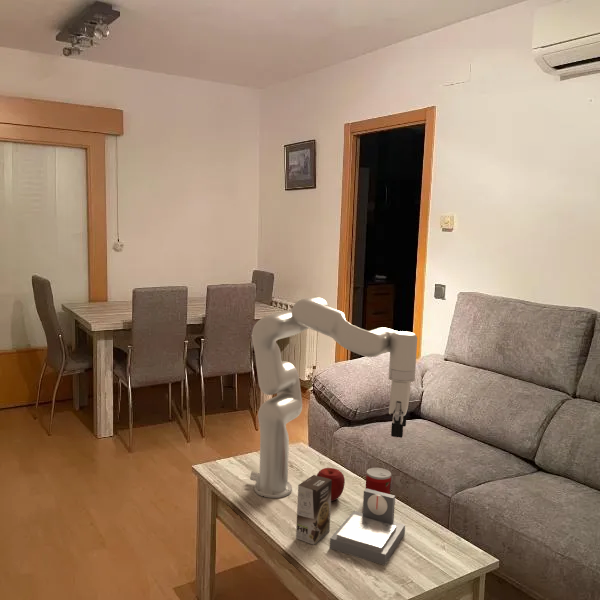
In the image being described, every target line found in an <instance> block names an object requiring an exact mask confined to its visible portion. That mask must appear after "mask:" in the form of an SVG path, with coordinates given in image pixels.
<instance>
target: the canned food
mask: <svg viewBox="0 0 600 600" xmlns="http://www.w3.org/2000/svg"><path fill="white" fill-rule="evenodd" d="M391 485H392V473H391V471H390V470H388V469H387V468H386V469H385V468H382V467H371V468H368V469H366V473H365V489H371V490H375V491H379V492H383V493H387V494H391V489H392V488H391V487H392V486H391Z"/></svg>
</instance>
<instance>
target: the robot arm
mask: <svg viewBox="0 0 600 600" xmlns="http://www.w3.org/2000/svg"><path fill="white" fill-rule="evenodd" d="M346 319H347V318H346V314H345V312H343V311H341V310H339V309H336V308H334V307H330V306H329V304H328V302H327V301H326V300H325V299H324V298H322V297H318V296H312V297H306V298H301V299H299V300H297V301H296V302H294V304H293V306H292V307H291V308H290V309H289V310H286V311H282V312H276V313H270V314H268V315H265V316H264V317H261V318H260V319H259V320H258V321H257V322H256V323H255V324H254V326H253V329H252V332H251V340H252V346H253V350H254V355H255V356H254V357H255V365H256V372H257V374H256V375H257V381H258V387H259V389H260V391H261V392H262V393H263V394H264V395H267V396H272V395H276V396H273V397H271V398H269V399H267V400H265V401H264V402H263V403H262V404H261V405H260V407H259V408H258V411H257V419H258V424H259V433H260V434H259V436H260V437H259V441H260V442H259V472H257V471H251V472H250V475H249V476H250V477H249V480H251V481H255V484H254V491H255V493H256V494H257V495H259V496H261V497H263V496H264V498H269V499H276V498H277V499H278V498H283V497H286V496H288V495H290V494H291V493H292V491H293V486H292V484H291V483H290V482H289V478H288V477H289V449H290V448H289V447H290V446H289V445H290V444H289V443H290V440H289V438H290V437H289V433H288V430H287V424H288V423H289V422H291V421H293V420H295V419H296V418H298V417H299V416H300V415H301V413H302V410H303V398H302V391H301V390H302V389H301V382H300V375H299V372H298V370H297V367H295V366H294V364H293V363H292V362H289V361H287V360H285V361H284V360H283V361H282V352H281V349H280V346H279V344H278V343H277V341H278V340H281V339H282V340H283V339H285V338H289V337H293V336H296V335H299V334H300V333H302V332H305V331H306V330H308V329H309V330H313V331H315V332H318V333H320V334H322V335H325V336H326V337H329V338H331V339H333V340H334V341H335V342H336V343H337V344H338V345H339V346H341V347H343V349H346V350H348V351H350V352H352V353H355V354H357V355H360V356H363V357H366V358H376V357H378V356H380V355H383V354H386V353H389V365H388V366H389V367H388V380H390V381H391V386H390V391H389V393H390V395H389V396H390V397H389V405H388V414H389V415H392V414H393V415H392V422H391V431H390V432H391V434H390V436H391V437H393V438H403V435H404V427H406V426H407V416H408V415H407V411H408V408H409V403H410V397H411V384H412V383H413V382H415V381H416V368H417V367H416V364H417V350H418V337H417V334H416V333H414V332H411V331H407V330H406V331H403V330H402V331H401V330H400V331H398V330H394V329H392V328H388V327H383V326H382V327H377V328H374V329H371V330H367V329H364V328H361V327H358V326H357V325H353V324H351V323H350V322H349V321H348V320H346Z"/></svg>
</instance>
